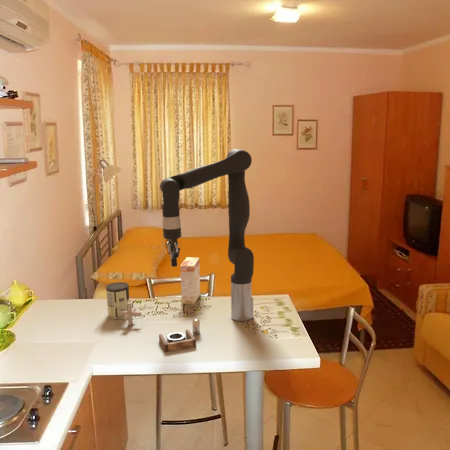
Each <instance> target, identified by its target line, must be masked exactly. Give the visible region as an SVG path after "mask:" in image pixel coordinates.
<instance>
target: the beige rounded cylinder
mask: <svg viewBox="0 0 450 450" xmlns="http://www.w3.org/2000/svg"><path fill="white" fill-rule="evenodd" d="M191 325H192V335H193V336H198V335H200V334H201V331H200V330H201V326H200V318H193V319H192V324H191Z"/></svg>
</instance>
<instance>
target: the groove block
mask: <svg viewBox="0 0 450 450" xmlns="http://www.w3.org/2000/svg"><path fill="white" fill-rule="evenodd" d="M158 338H159V339H158V341H159V344H160V345H161V347H162V349H163V350H164V352H165V353H169V352H175V351H178V350H179V351H180V350H186V349H191V348H196V347H197V340H196V339H197V338H195V335H194V334H193V333H191V331H190V330H189V329H185V340H183V341H177V342H171V343H167V339H166V338H165V337H164V335H163V333H159V334H158Z"/></svg>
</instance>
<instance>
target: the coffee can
mask: <svg viewBox="0 0 450 450" xmlns="http://www.w3.org/2000/svg"><path fill="white" fill-rule="evenodd" d="M105 290H106V291H105V293H106V303H107V305H106V306H107V317H108V318H109V319H114V320H120V319H124V316H125V315H119V314H118V312H119V311H128V308H127V303H128V302H130V287H129V283H127V282H121V281H120V282H119V281H118V282H113V283H109V284H107V285H106V286H105Z"/></svg>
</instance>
